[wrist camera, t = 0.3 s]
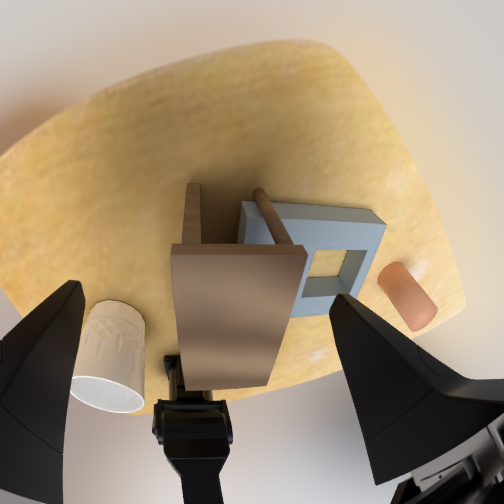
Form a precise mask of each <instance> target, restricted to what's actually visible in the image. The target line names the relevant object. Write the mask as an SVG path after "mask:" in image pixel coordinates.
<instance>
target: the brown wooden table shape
mask: <svg viewBox="0 0 504 504" xmlns="http://www.w3.org/2000/svg"><path fill="white" fill-rule="evenodd" d="M253 196H254V198H255V201H256V203H257V205H258V207H259V209H260V211H261V214H262V216H263V218H264V220H265V222H266V225H267V227H268V229H269V231H270V234H271V236H272V238H273V240H274V242H275V244H201V222H200V184H187V192H186V201H185V211H184V222H183V234H182V244H172V248H171V268H172V282H173V294H174V305H175V315H176V324H177V333H178V341H179V349H180V356H181V363H182V370H183V376H184V383H185V389H186V391H196V390H222V389H237V388H249V387H259V386H266V385H267V383H268V380H269V377H270V374H271V372H272V369H273V366H274V363H275V360H276V357H277V354H278V351H279V349H280V346H281V343H282V340H283V337H284V334H285V331H286V327H287V324H288V321H289V318H290V315H291V312H292V309H293V306H294V302H295V299H296V296H297V293H298V289H299V286H300V283H301V279H302V276H303V272H304V269H305V265H306V262H307V258H308V253H307V252H306V250H305V248H304V246H303V245H294V243H293V241H292V239H291V238H290V236H289V234H288V232H287V230H286V228H285V227H284V225H283V223H282V221H281V219H280V218H279V216H278V214H277V212H276V211H275V209H274V207H273V205H272V203H271V202H270V200H269V198H268V196H267V195H266V193H265V191H264V190H263V189H260V188H259V189H256V190H255V191H254V193H253Z"/></svg>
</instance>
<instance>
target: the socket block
mask: <svg viewBox="0 0 504 504" xmlns="http://www.w3.org/2000/svg"><path fill="white" fill-rule="evenodd" d="M271 203H272V205H273V207H274V209H275V211H276V212H277V214H278V216H279V218H280V219H281V221H282V223H283V225H284V227H285V228H286V230H287V232H288V234H289V236H290V238H291V239H292V241H293V243H294V245H303V246H304V248H305V250H306V252H307V253H308V258H307V262H306V265H305V269H304V272H303V276H302V279H301V283H300V286H299V289H298V293H297V296H296V299H295V302H294V306H293V309H292V312H291V315H290V318H293V317H305V316H316V315H327V314H329V310H330V307H331V305H332V303H333V301H334V299H335V297H336V295H337V294H339V293H348V294H350V295H351V296H352V297H354V298H355V299H356V298H357V296H358V294H359V291H360V289H361V287H362V285H363V283H364V280H365V278H366V276H367V273H368V271H369V269H370V266H371V264H372V262H373V259H374V257H375V254H376V252H377V249H378V247H379V244H380V242H381V239H382V237H383V234H384V231H385V229H386V226H387V224H386V223H385V222H383V221H382V220H381V219H380V218H379V217H378V216H377V215H376V214H375V213H374V212H373V211H371V210H366V209H356V208H345V207H334V206H321V205H308V204H292V203H275V202H271ZM237 244H275V242H274V240H273V238H272V236H271V234H270V231H269V229H268V227H267V225H266V222H265V220H264V218H263V216H262V214H261V211H260V209H259V207H258V205H257V203H256V202H254V201H241V210H240V219H239V228H238V237H237ZM315 250H348V251H347V254H346V257H345V260H344V262H343V265H342V268H341V270H340V273H339V276H338V277H314V278H307V276H308V273H309V270H310V266H311V263H312V259H313V256H314V253H315Z"/></svg>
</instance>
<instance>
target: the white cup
mask: <svg viewBox="0 0 504 504" xmlns="http://www.w3.org/2000/svg"><path fill="white" fill-rule="evenodd" d="M144 336H145V322H144V320H143V318H142V315H141V314H140V313H139V312H138V311H137V310H135V309H134V308H133V307H132V306H130V305H127V304H125V303H123V302H120V301H111V300H106V301H102V302H99V303H96V305H95V306H94V307H93V308H92V309H91V311H90V314H89V316H88V319H87V322H86V324H85V326H84V328H83V331H82V334H81V337H80V343H79V349H78V353H77V358H76V362H75V367H74V372H73V377H72V382H71V388H70V393H71V394H72V395H73V396H75V397H76V398H77V399H79V400H80V401H82V402H84V403H86V404H88V405H90V406H92V407H95V408H98V409H101V410H105V411H110V412H118V413H130V412H136V411H138V410H141V409H142V408H143V407H144V405H145V344H144Z"/></svg>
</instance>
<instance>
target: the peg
mask: <svg viewBox="0 0 504 504" xmlns="http://www.w3.org/2000/svg"><path fill="white" fill-rule="evenodd" d="M378 284H379V285H380V287H381V288H382V290H383V291H384V292H385V294H386V295H387V297H388V298H389V299H390V301H391V302H392V304H393V305H394V306H395V308H396V309H397V311H398V312H399V314H400V315H401V317H402V318H403V320H404V321H405V323H406V324H407V326H408V327H409V329H410V330H411V331H412V332H415V331H418V330H420V329H422V328H424V327H425V326H426V325H428V324H429V323H430V322H431V321H432V320H433V318H434V317H435V315H436V313H437V311H438V308H437V306H436V305H435V304H434V303H433V301H432V300H431V299H430V297H429V296H428V295H427V294H426V292H425V291H424V290H423V289H422V288H421V286H420V285H419V284H418V283H417V282H416V280H415V279H414V278H413V277H412V276H411V274H410V273H409V272H408V271H407V270H406V269H405V267H404V266H403V265H402V264H401V263H399V262H395V263H392V264H390V265H388V266H387V267H386V268H385V269H384V270H383V271H382V272H381V274H380V275H379V278H378Z"/></svg>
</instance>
